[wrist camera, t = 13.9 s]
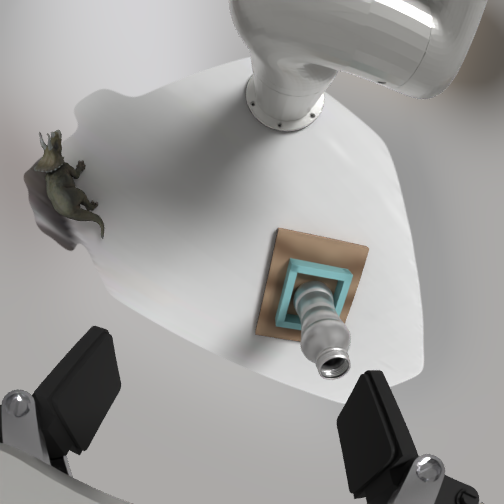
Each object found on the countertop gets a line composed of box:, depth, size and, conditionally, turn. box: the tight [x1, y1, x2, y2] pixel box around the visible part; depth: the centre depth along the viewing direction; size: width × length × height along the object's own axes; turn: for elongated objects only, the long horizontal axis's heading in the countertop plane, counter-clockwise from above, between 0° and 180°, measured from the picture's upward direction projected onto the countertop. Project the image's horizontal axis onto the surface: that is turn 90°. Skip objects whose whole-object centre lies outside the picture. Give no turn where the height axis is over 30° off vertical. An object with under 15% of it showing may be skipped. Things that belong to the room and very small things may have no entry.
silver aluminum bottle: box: [293, 281, 351, 380], centre depth 37 cm, size 6×7×20 cm
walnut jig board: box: [255, 228, 369, 341], centre depth 46 cm, size 20×16×4 cm
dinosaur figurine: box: [34, 130, 104, 239], centre depth 39 cm, size 22×8×11 cm, turn 20°
